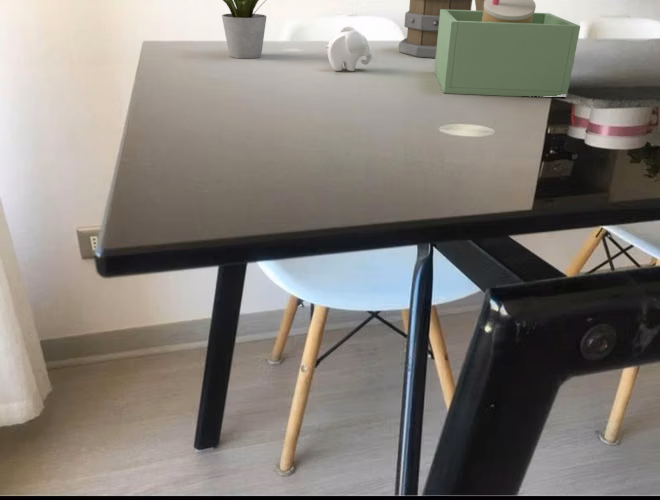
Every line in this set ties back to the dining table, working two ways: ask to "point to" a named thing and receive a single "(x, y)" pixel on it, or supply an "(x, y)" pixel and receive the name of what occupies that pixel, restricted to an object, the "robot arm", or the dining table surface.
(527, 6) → the straw cup
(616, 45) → the dining table surface
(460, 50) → the bin
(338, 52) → the elephant figurine
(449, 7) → the tankard
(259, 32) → the house plant
